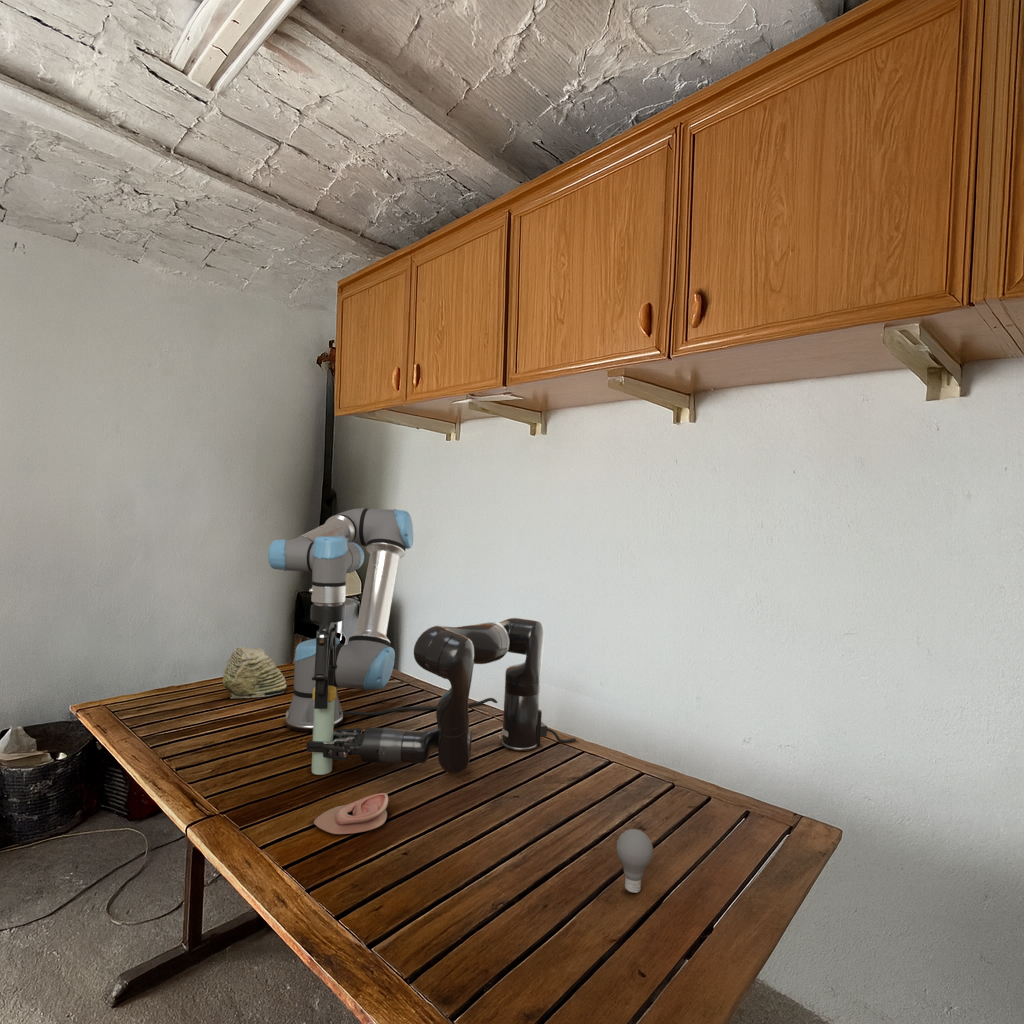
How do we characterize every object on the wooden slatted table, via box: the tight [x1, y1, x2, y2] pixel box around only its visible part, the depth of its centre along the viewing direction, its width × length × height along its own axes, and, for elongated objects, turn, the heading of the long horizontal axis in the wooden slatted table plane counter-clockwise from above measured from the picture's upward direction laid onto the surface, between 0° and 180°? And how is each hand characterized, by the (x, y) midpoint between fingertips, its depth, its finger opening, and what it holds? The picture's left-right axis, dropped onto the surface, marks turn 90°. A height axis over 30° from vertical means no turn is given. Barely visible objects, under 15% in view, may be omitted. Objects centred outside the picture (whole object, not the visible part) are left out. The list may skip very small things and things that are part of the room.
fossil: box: [222, 646, 288, 699], centre depth 198 cm, size 9×18×15 cm, turn 132°
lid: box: [313, 685, 338, 702], centre depth 146 cm, size 5×5×2 cm
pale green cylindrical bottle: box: [310, 700, 335, 776], centre depth 146 cm, size 4×4×19 cm
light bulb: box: [615, 828, 654, 894], centre depth 106 cm, size 6×6×10 cm
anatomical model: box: [313, 792, 389, 835], centre depth 124 cm, size 13×4×12 cm
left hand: (323, 702), depth 146 cm, fingers open, 7 cm apart
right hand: (311, 741), depth 146 cm, fingers closed on pale green cylindrical bottle, 4 cm apart
